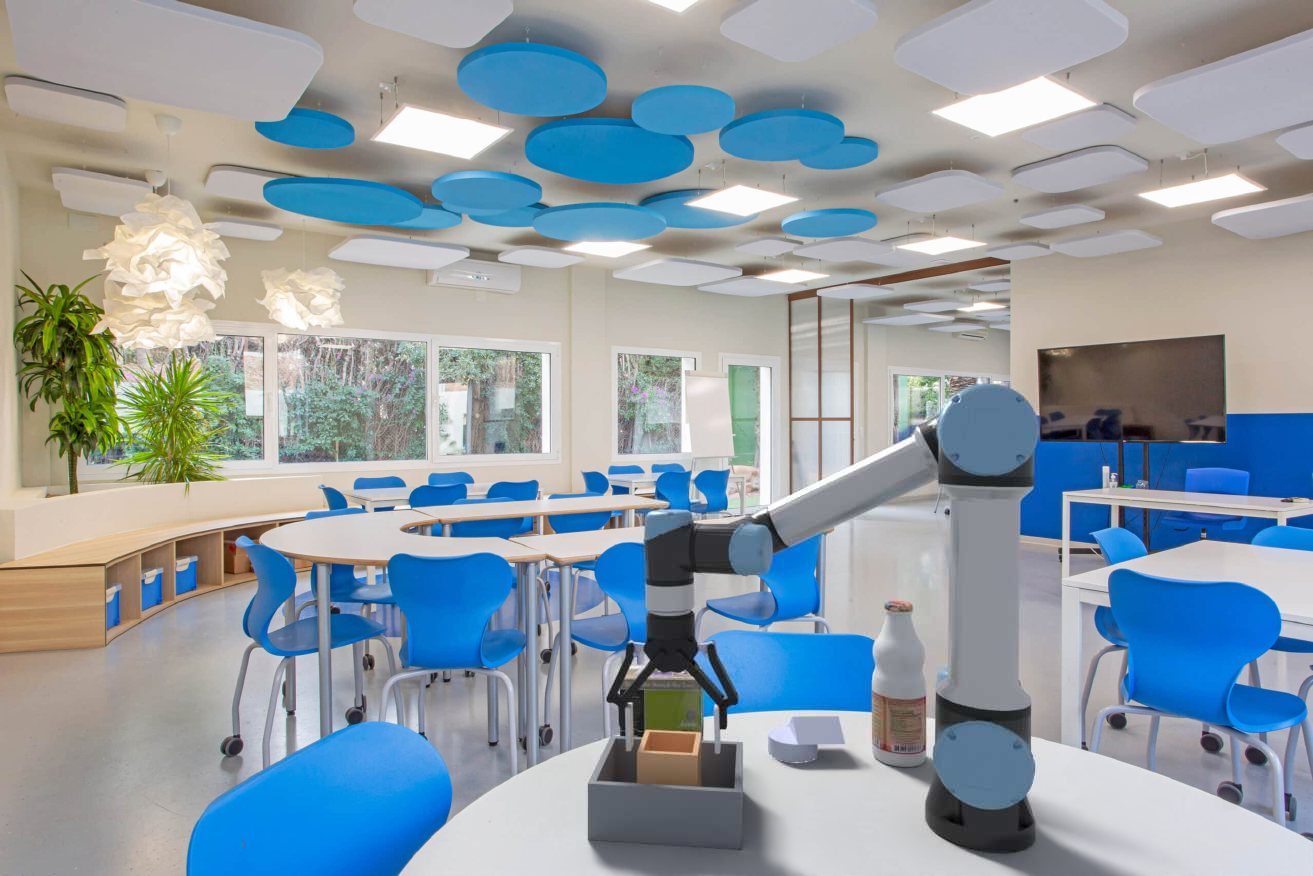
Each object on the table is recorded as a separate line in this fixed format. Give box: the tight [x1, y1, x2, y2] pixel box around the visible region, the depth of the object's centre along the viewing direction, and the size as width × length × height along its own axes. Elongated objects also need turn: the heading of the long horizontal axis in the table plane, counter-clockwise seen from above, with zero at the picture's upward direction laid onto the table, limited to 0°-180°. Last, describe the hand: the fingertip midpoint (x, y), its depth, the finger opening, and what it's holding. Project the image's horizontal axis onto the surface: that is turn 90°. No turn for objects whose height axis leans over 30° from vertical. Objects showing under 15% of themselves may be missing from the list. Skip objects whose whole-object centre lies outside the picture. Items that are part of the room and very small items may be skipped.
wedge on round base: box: [767, 715, 846, 763], centre depth 139 cm, size 9×7×13 cm
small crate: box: [637, 730, 701, 787], centre depth 116 cm, size 9×9×10 cm
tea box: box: [619, 664, 705, 740], centre depth 140 cm, size 15×10×15 cm
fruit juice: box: [871, 600, 927, 768], centre depth 137 cm, size 9×9×28 cm
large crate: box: [587, 735, 744, 851], centre depth 116 cm, size 22×18×8 cm
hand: (673, 749), depth 116 cm, fingers open, 13 cm apart
